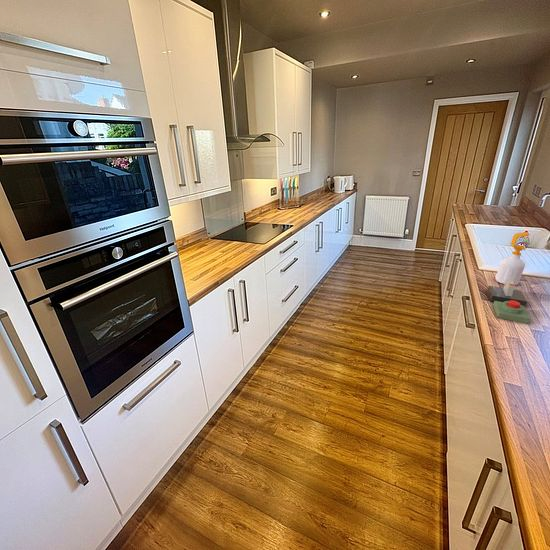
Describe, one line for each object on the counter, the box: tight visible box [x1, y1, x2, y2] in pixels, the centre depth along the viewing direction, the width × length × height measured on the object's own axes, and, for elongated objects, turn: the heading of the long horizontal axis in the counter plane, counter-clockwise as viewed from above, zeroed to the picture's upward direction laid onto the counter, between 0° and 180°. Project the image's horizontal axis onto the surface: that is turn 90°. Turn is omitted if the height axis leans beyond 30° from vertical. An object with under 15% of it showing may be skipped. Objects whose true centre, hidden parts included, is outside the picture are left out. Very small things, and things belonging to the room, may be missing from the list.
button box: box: [492, 301, 532, 324], centre depth 115 cm, size 10×10×4 cm
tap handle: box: [502, 279, 516, 296], centre depth 123 cm, size 6×2×5 cm, turn 154°
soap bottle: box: [494, 231, 531, 286], centre depth 135 cm, size 9×9×25 cm
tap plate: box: [486, 285, 528, 308], centre depth 125 cm, size 12×10×3 cm
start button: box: [508, 300, 520, 308], centre depth 114 cm, size 4×4×2 cm
